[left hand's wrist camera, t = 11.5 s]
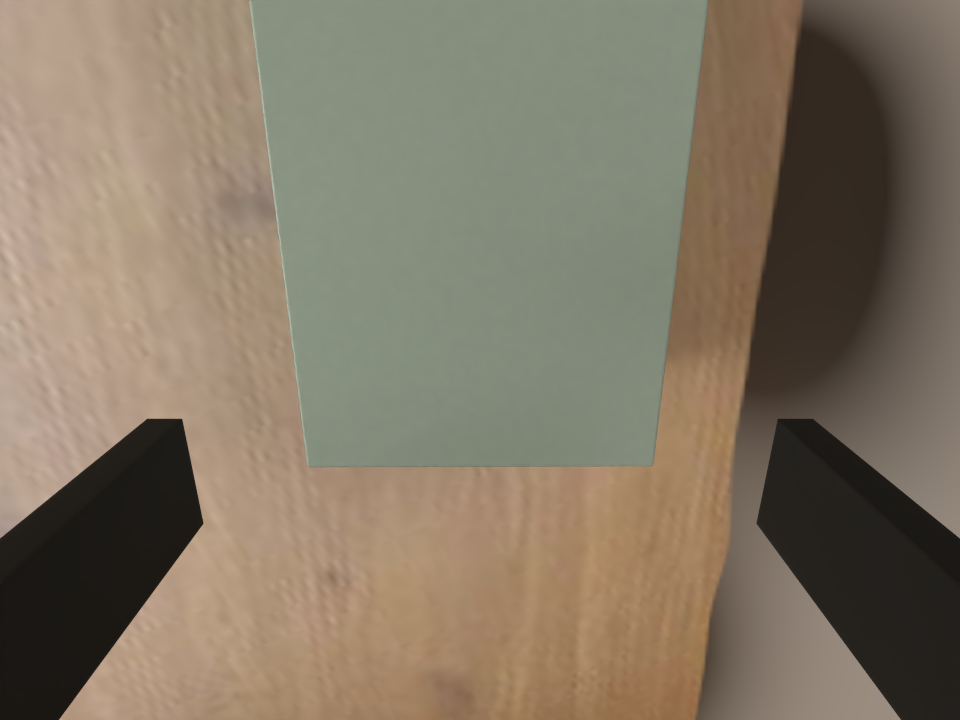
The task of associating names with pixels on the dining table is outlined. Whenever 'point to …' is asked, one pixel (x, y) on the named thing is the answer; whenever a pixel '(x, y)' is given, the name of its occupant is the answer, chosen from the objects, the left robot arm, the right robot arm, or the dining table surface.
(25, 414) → the dining table surface
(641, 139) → the cabinet
